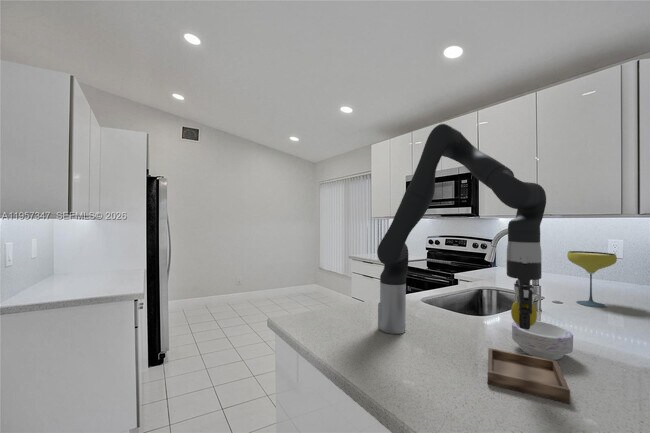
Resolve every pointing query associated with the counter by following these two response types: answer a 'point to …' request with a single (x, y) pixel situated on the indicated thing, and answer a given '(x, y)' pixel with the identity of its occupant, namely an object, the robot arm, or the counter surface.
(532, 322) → the lemon
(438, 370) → the counter surface
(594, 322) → the counter surface
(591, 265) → the cocktail glass
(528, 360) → the walnut tray
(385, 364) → the counter surface
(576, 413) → the counter surface
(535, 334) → the paper bowls
